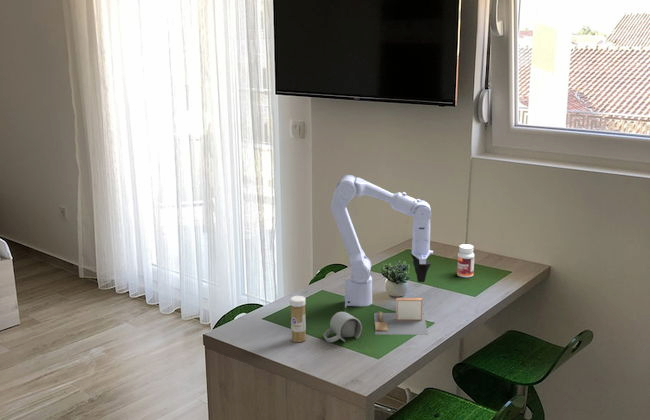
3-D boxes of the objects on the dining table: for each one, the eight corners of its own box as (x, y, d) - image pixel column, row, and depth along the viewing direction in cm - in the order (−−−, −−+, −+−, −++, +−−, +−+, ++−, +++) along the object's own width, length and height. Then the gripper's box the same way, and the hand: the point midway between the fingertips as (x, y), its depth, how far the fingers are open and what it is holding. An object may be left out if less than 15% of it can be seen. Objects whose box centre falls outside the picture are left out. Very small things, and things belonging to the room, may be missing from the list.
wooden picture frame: (396, 320, 218) (396, 299, 217) (396, 318, 220) (396, 297, 218) (421, 320, 218) (422, 299, 216) (421, 318, 220) (421, 297, 218)
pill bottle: (454, 276, 258) (455, 247, 255) (460, 271, 263) (461, 242, 260) (470, 278, 255) (471, 249, 252) (475, 273, 260) (477, 245, 257)
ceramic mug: (349, 329, 215) (349, 306, 213) (362, 339, 208) (362, 316, 206) (319, 337, 210) (318, 313, 208) (331, 347, 203) (330, 323, 201)
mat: (375, 336, 209) (375, 334, 209) (373, 315, 225) (373, 312, 224) (428, 336, 209) (428, 334, 208) (423, 315, 224) (423, 313, 224)
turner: (375, 331, 211) (375, 327, 211) (374, 314, 223) (374, 311, 223) (387, 331, 211) (387, 327, 211) (385, 314, 223) (385, 311, 223)
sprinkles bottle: (289, 341, 207) (287, 299, 204) (295, 335, 211) (293, 294, 208) (303, 343, 206) (301, 301, 202) (308, 337, 210) (307, 296, 206)
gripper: (436, 245, 218) (434, 285, 221) (431, 231, 232) (429, 270, 235) (413, 245, 218) (412, 285, 222) (410, 231, 232) (409, 269, 236)
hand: (419, 277), depth 229 cm, fingers open, 7 cm apart
